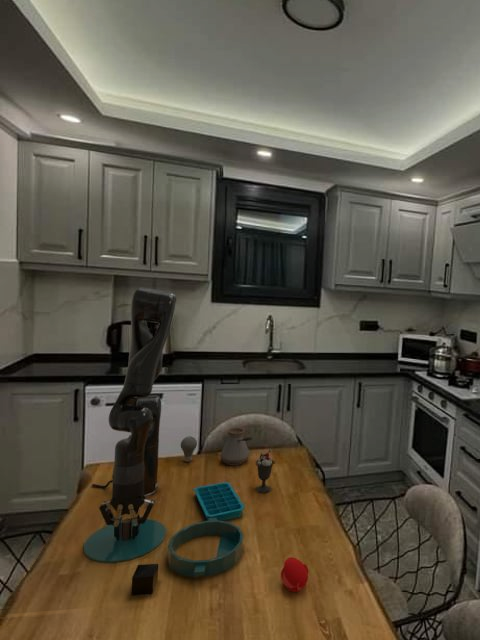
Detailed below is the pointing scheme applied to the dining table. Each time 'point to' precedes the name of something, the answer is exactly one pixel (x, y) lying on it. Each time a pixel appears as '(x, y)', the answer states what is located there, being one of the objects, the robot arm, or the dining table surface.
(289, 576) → the red rounded oval piece
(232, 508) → the ice cube tray
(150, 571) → the block
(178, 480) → the dining table surface
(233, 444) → the coffee pot
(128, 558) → the lid
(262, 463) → the sundae
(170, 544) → the teal tabbed round part
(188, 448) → the light bulb
